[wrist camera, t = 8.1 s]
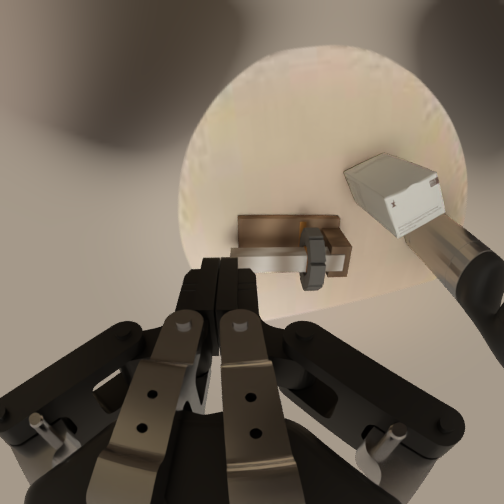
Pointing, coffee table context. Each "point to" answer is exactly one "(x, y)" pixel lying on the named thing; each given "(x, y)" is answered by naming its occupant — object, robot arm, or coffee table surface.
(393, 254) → the coffee table surface
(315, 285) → the o ring
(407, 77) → the coffee table surface
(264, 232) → the pipe stand
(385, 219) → the skincare box
